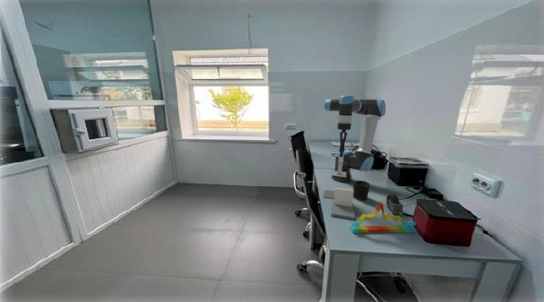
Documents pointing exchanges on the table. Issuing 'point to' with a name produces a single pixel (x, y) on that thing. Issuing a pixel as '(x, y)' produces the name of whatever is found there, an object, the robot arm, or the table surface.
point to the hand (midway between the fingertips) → (340, 161)
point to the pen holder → (360, 190)
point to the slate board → (343, 211)
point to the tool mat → (329, 194)
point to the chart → (371, 229)
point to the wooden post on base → (339, 171)
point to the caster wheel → (394, 204)
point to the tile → (343, 197)
